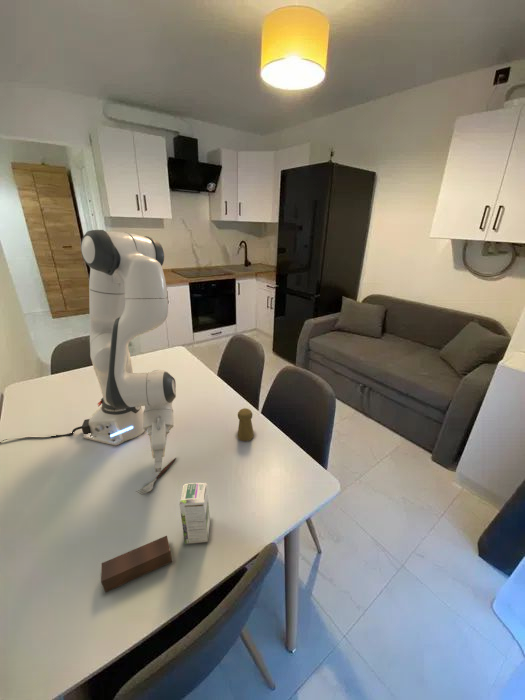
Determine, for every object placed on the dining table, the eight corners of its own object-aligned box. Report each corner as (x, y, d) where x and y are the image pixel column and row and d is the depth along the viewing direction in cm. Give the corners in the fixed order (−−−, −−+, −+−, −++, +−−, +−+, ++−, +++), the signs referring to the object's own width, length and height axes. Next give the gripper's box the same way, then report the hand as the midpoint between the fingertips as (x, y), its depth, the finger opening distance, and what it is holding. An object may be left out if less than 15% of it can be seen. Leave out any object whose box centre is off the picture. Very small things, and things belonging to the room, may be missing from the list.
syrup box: (188, 522, 76) (182, 483, 70) (211, 520, 77) (206, 481, 71) (184, 544, 71) (177, 504, 65) (209, 542, 71) (204, 502, 65)
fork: (179, 460, 96) (178, 455, 95) (143, 499, 82) (141, 494, 82) (173, 458, 97) (172, 453, 96) (136, 496, 83) (134, 491, 83)
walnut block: (105, 592, 62) (100, 581, 60) (105, 573, 65) (101, 563, 64) (172, 561, 67) (169, 551, 66) (169, 545, 71) (166, 535, 69)
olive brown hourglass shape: (251, 442, 103) (251, 417, 99) (235, 439, 104) (234, 415, 100) (255, 431, 109) (255, 407, 104) (239, 428, 110) (238, 405, 105)
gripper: (170, 412, 82) (171, 464, 76) (168, 428, 99) (168, 472, 93) (146, 414, 79) (145, 467, 73) (148, 430, 96) (147, 475, 91)
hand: (158, 470), depth 83 cm, fingers open, 8 cm apart
